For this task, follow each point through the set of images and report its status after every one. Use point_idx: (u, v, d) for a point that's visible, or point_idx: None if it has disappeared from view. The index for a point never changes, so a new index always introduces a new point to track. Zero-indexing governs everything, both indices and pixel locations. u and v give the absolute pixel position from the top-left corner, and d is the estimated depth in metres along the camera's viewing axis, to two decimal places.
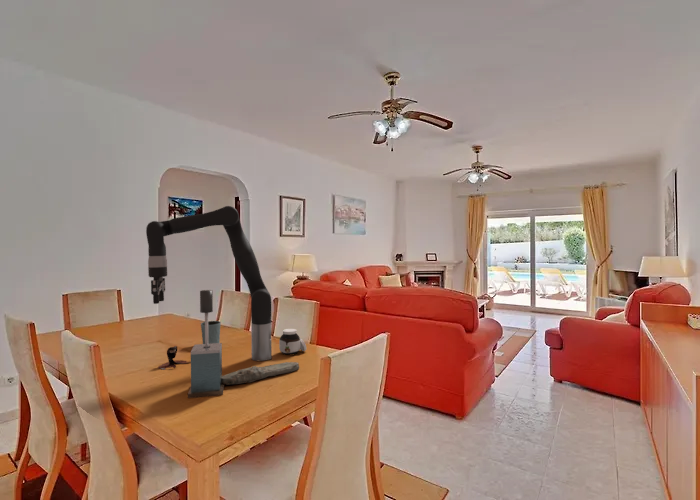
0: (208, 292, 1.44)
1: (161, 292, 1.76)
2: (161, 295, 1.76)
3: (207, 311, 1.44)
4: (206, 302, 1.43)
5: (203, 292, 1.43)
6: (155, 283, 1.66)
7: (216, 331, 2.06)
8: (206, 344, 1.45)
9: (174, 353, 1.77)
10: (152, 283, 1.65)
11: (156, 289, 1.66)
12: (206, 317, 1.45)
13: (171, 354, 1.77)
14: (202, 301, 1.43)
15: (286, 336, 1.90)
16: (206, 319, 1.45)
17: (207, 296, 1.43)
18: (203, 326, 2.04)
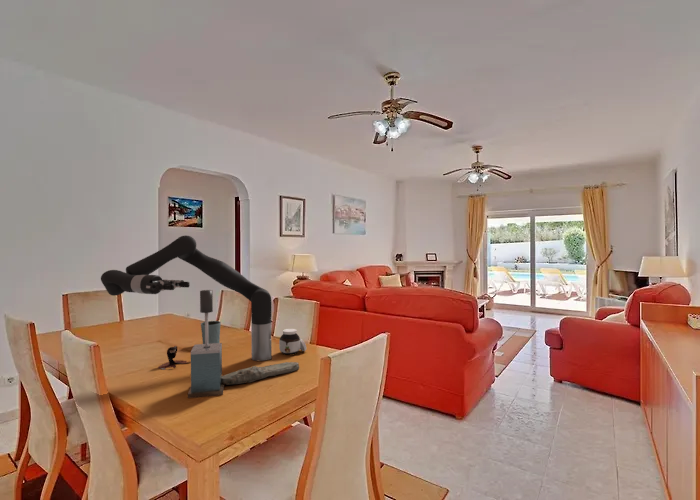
0: (208, 292, 1.44)
1: (180, 283, 1.53)
2: (182, 283, 1.53)
3: (207, 311, 1.44)
4: (206, 302, 1.43)
5: (203, 292, 1.43)
6: (148, 285, 1.44)
7: (216, 331, 2.06)
8: (206, 344, 1.45)
9: (174, 353, 1.77)
10: (148, 288, 1.44)
11: (153, 284, 1.43)
12: (206, 317, 1.45)
13: (171, 354, 1.77)
14: (202, 301, 1.43)
15: (286, 336, 1.90)
16: (206, 319, 1.45)
17: (207, 296, 1.43)
18: (203, 326, 2.04)
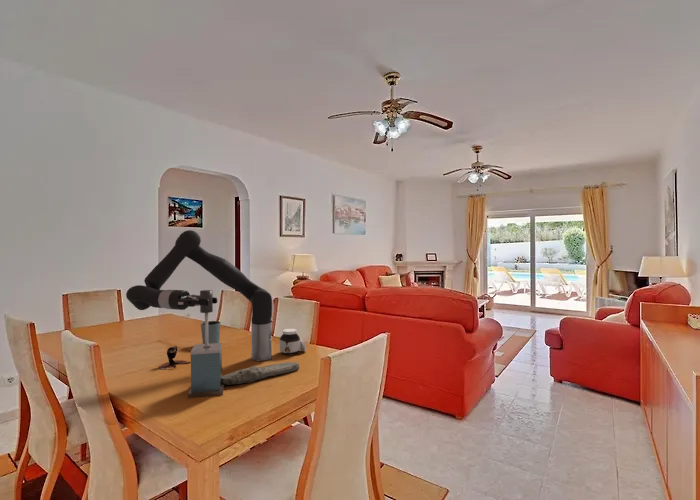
0: (208, 292, 1.44)
1: None
2: None
3: (207, 311, 1.44)
4: None
5: (203, 292, 1.43)
6: (181, 301, 1.41)
7: (216, 331, 2.06)
8: (206, 344, 1.45)
9: (174, 353, 1.77)
10: (181, 305, 1.41)
11: (188, 300, 1.41)
12: (206, 317, 1.45)
13: (171, 354, 1.77)
14: None
15: (286, 336, 1.90)
16: (206, 319, 1.45)
17: (207, 296, 1.43)
18: (203, 326, 2.04)
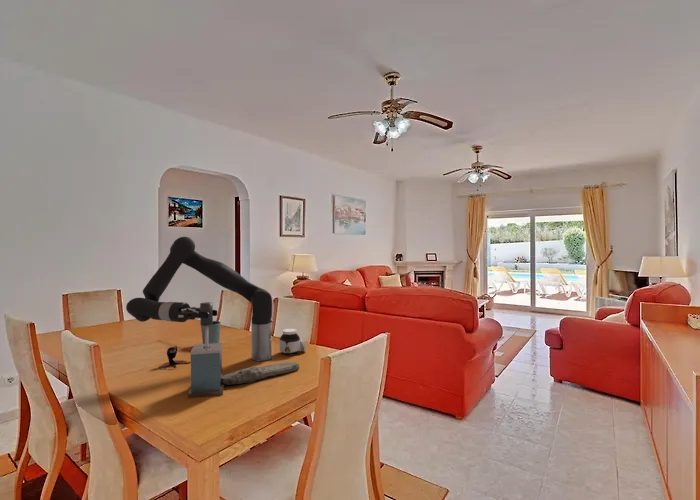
0: (208, 305, 1.44)
1: None
2: None
3: (207, 324, 1.44)
4: None
5: (203, 305, 1.43)
6: (181, 314, 1.41)
7: (216, 331, 2.06)
8: None
9: (174, 353, 1.77)
10: (181, 317, 1.41)
11: (188, 313, 1.41)
12: (206, 330, 1.45)
13: (171, 354, 1.77)
14: None
15: (286, 336, 1.90)
16: (206, 332, 1.45)
17: (207, 308, 1.43)
18: (203, 326, 2.04)
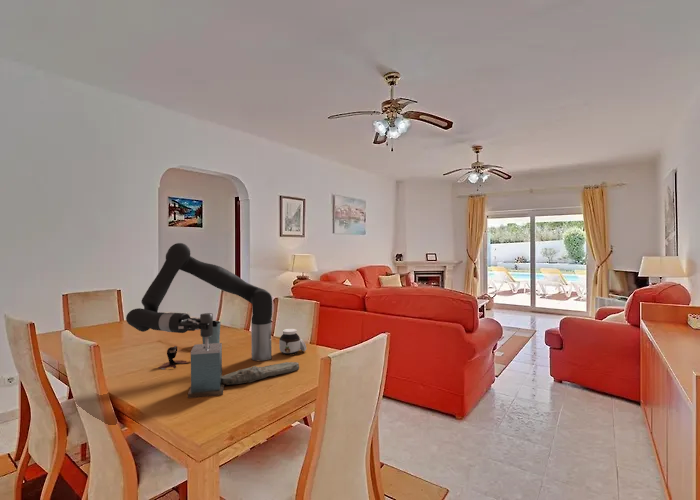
0: (208, 316, 1.44)
1: None
2: None
3: (207, 335, 1.44)
4: None
5: (203, 316, 1.43)
6: (181, 326, 1.41)
7: (216, 331, 2.06)
8: None
9: (174, 353, 1.77)
10: (181, 329, 1.41)
11: (188, 325, 1.41)
12: (206, 341, 1.45)
13: (171, 354, 1.77)
14: None
15: (286, 336, 1.90)
16: (206, 343, 1.45)
17: (207, 320, 1.44)
18: None
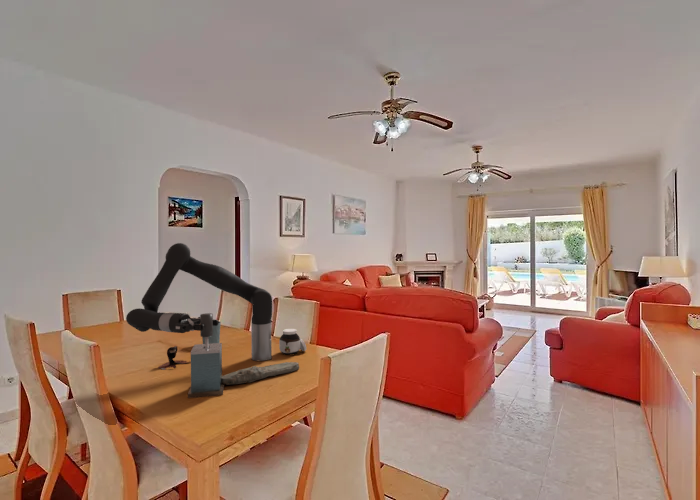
0: (208, 316, 1.44)
1: None
2: None
3: (207, 335, 1.44)
4: (207, 326, 1.44)
5: (203, 316, 1.43)
6: (178, 326, 1.41)
7: (216, 331, 2.06)
8: None
9: (174, 353, 1.77)
10: (177, 329, 1.41)
11: (183, 325, 1.40)
12: (206, 341, 1.45)
13: (171, 354, 1.77)
14: None
15: (286, 336, 1.90)
16: (206, 343, 1.45)
17: (207, 320, 1.44)
18: None
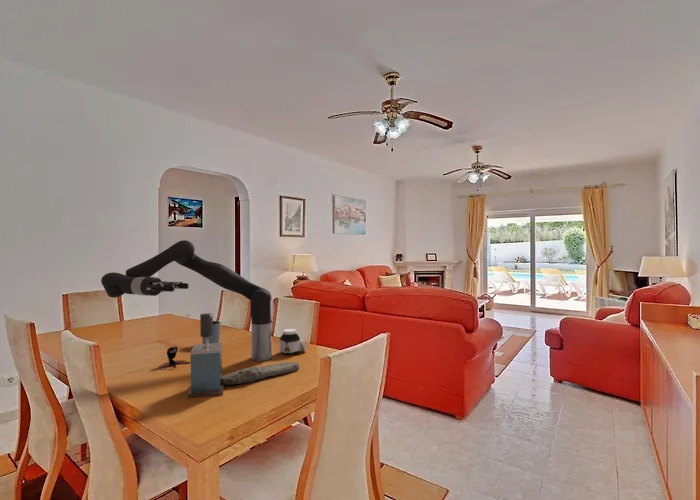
0: (208, 316, 1.44)
1: (179, 285, 1.58)
2: (181, 285, 1.57)
3: (207, 335, 1.44)
4: (207, 326, 1.44)
5: (203, 316, 1.43)
6: (148, 287, 1.48)
7: (216, 331, 2.06)
8: None
9: (174, 353, 1.77)
10: (148, 290, 1.48)
11: (154, 286, 1.48)
12: (206, 341, 1.45)
13: (171, 354, 1.77)
14: (202, 325, 1.44)
15: (286, 336, 1.90)
16: (206, 343, 1.45)
17: (207, 320, 1.44)
18: None
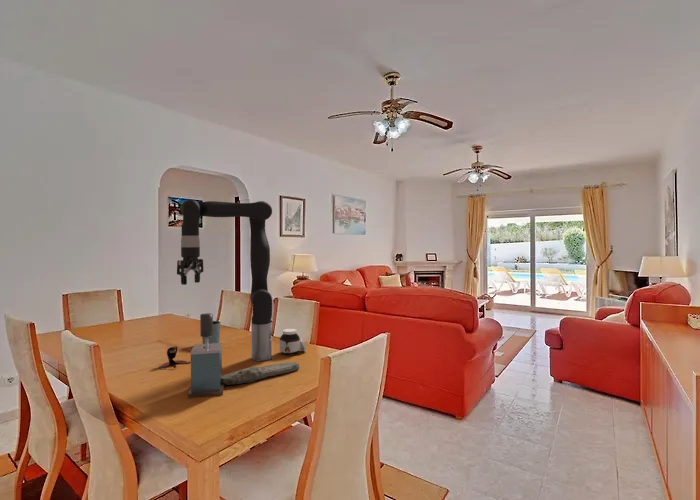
0: (208, 316, 1.44)
1: (197, 273, 1.71)
2: (197, 276, 1.71)
3: (207, 335, 1.44)
4: (207, 326, 1.44)
5: (203, 316, 1.43)
6: (180, 263, 1.60)
7: (216, 331, 2.06)
8: None
9: (174, 353, 1.77)
10: (178, 263, 1.60)
11: (181, 270, 1.60)
12: (206, 341, 1.45)
13: (171, 354, 1.77)
14: (202, 325, 1.44)
15: (286, 336, 1.90)
16: (206, 343, 1.45)
17: (207, 320, 1.44)
18: None
